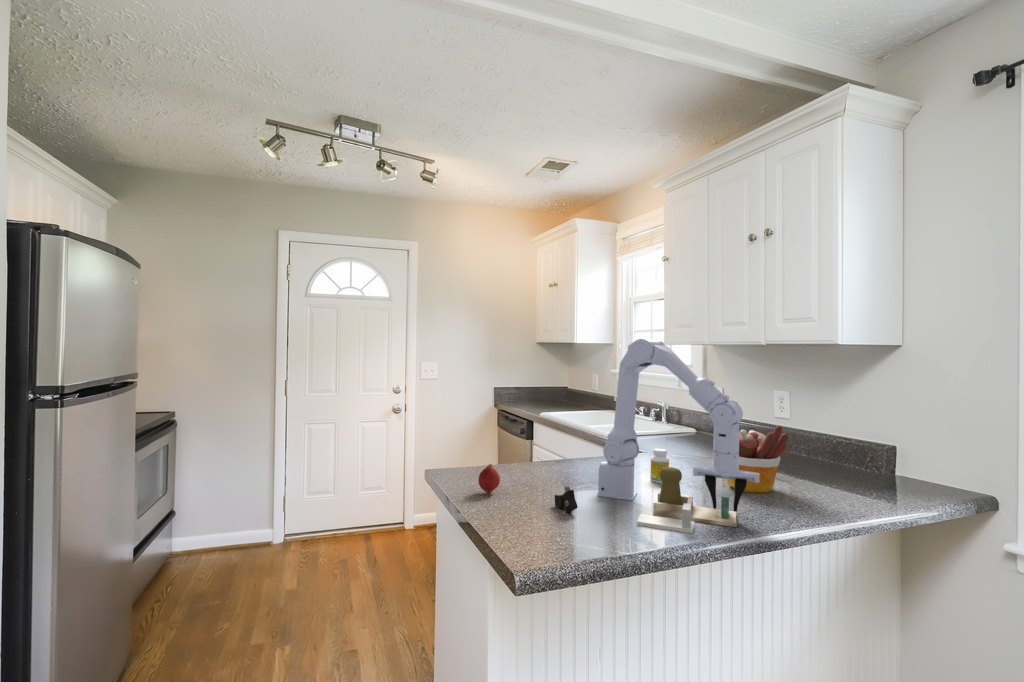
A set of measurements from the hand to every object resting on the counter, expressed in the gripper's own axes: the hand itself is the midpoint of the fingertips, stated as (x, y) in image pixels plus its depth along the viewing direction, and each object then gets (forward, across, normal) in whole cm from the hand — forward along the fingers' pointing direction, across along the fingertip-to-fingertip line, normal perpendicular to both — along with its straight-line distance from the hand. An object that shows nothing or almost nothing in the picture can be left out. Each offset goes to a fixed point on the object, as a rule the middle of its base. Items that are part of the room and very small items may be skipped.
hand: (724, 509), depth 121 cm
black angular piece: (+3, -36, -11) cm, 38 cm away
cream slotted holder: (+2, -6, 0) cm, 7 cm away
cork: (+3, -12, 0) cm, 13 cm away
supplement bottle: (+3, -18, +31) cm, 36 cm away
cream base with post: (+2, -12, -11) cm, 17 cm away
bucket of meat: (+3, +8, +35) cm, 36 cm away
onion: (+3, -60, -6) cm, 60 cm away
